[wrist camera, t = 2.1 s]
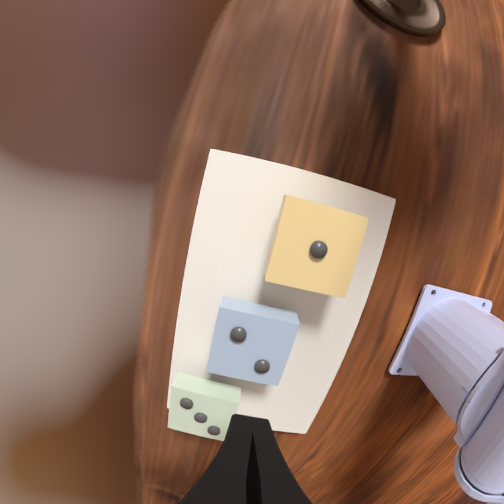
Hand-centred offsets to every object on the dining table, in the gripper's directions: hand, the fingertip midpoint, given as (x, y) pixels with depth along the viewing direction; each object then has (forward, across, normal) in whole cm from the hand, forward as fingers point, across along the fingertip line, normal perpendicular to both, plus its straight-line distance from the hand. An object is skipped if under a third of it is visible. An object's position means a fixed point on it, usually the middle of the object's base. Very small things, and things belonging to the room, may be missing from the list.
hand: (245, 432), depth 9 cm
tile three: (+8, +2, +7) cm, 11 cm away
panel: (+10, -1, 0) cm, 10 cm away
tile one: (+8, -2, -7) cm, 11 cm away
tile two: (+8, 0, 0) cm, 8 cm away
